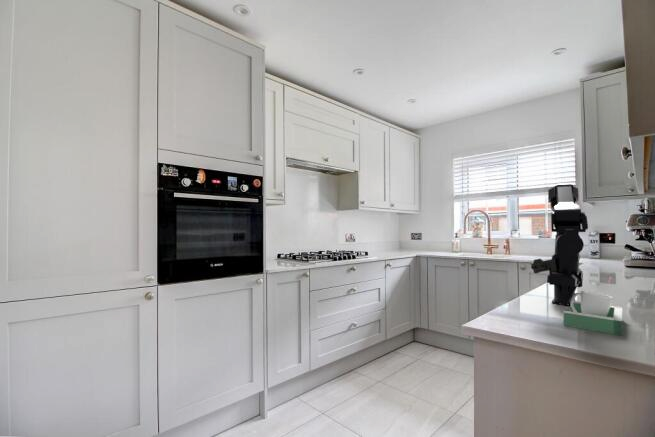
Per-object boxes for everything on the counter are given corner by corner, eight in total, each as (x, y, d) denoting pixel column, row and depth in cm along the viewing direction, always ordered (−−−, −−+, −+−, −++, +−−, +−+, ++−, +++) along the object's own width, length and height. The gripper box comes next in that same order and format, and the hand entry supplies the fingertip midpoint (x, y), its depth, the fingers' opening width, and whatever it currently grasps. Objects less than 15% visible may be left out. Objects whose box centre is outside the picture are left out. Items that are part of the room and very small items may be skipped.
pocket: (571, 312, 98) (570, 300, 98) (622, 320, 90) (622, 307, 90) (563, 325, 86) (563, 311, 86) (622, 335, 78) (621, 320, 78)
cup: (594, 327, 83) (600, 296, 82) (559, 313, 92) (564, 286, 92) (615, 329, 84) (621, 298, 84) (578, 315, 94) (583, 288, 94)
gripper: (540, 246, 104) (538, 293, 105) (527, 251, 91) (524, 305, 91) (583, 250, 97) (581, 301, 97) (576, 255, 83) (573, 314, 84)
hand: (564, 305), depth 93 cm, fingers closed
